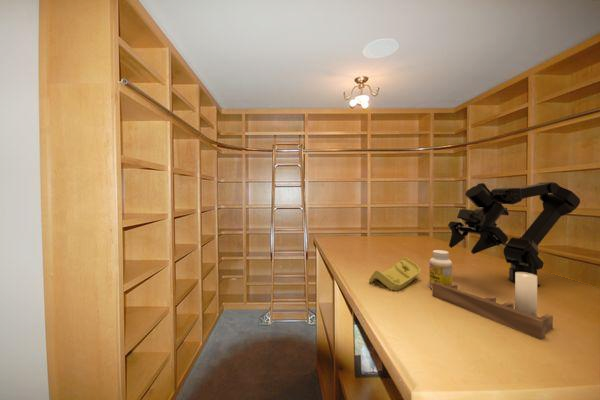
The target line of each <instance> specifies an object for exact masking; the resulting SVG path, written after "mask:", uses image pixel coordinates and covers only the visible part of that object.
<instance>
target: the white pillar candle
mask: <svg viewBox="0 0 600 400" xmlns="http://www.w3.org/2000/svg"><path fill="white" fill-rule="evenodd" d="M537 283H538V274H537V275H534V274H531V273H526V272H515V282H514V285H515V286H514V290H515V291H514V293H515V295H514V309H516V310H519V311H522V312H525V313H528V314H531V315H534V316H537V317H538V286H537Z"/></svg>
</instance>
